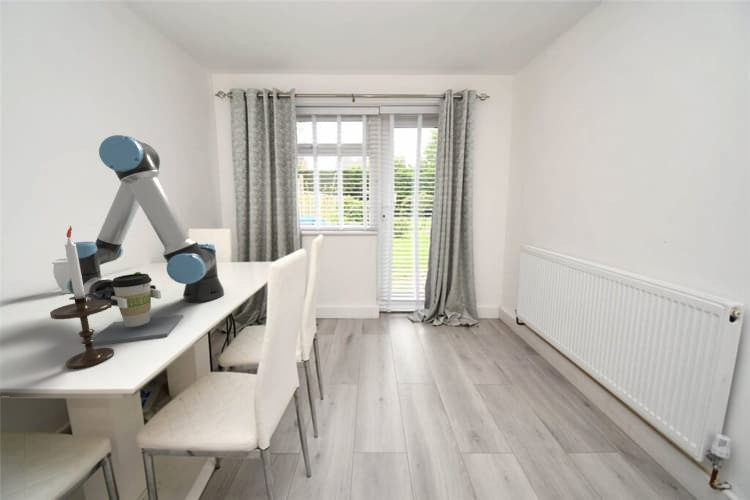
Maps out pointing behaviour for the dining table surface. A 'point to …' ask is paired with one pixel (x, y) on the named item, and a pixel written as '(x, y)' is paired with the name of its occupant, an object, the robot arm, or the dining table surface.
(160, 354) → the dining table surface
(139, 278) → the coffee cup
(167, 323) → the slate mat
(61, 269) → the jar
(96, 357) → the candlestick
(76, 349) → the dining table surface
